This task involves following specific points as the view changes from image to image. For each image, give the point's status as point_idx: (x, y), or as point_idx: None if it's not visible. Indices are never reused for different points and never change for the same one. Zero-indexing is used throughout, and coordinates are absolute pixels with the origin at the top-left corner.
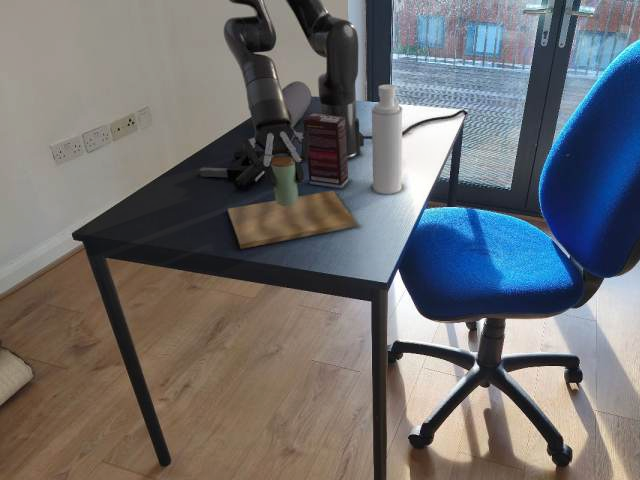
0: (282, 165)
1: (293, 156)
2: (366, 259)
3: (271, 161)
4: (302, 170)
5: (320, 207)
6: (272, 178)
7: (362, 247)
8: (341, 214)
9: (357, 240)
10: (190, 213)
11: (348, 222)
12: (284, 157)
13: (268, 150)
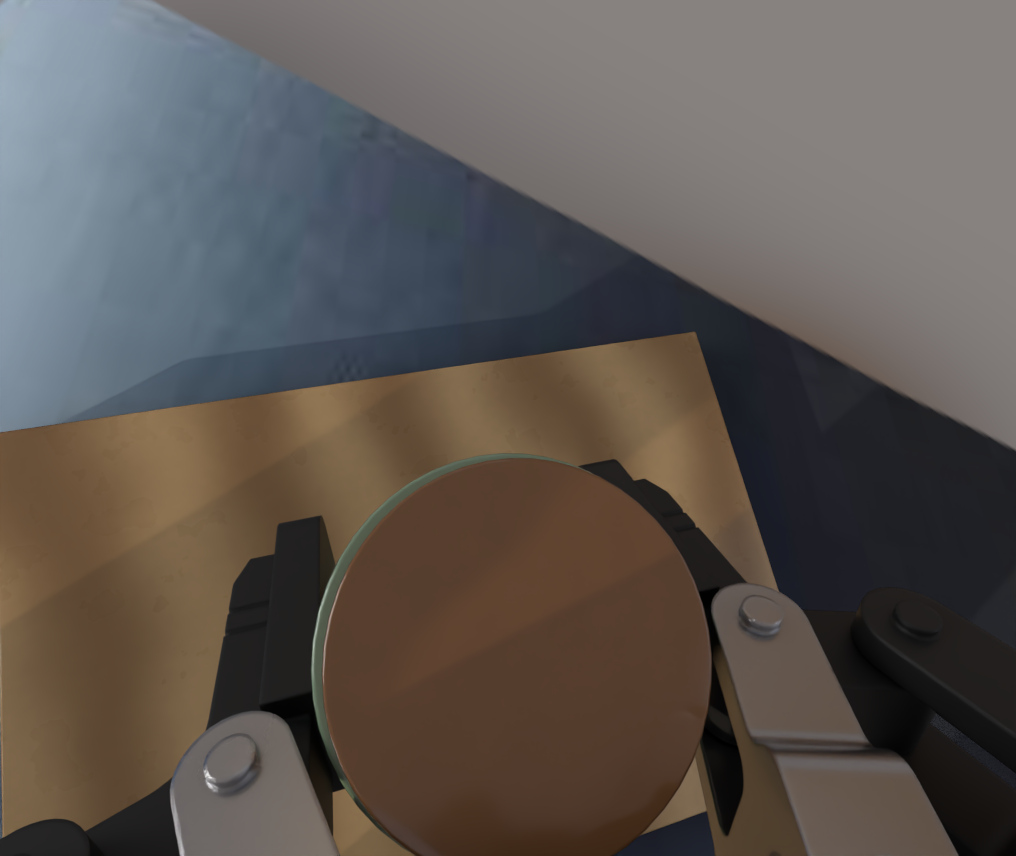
0: (525, 460)
1: (307, 811)
2: (78, 115)
3: (706, 622)
4: (231, 634)
5: (204, 700)
6: (620, 487)
7: (60, 217)
8: (66, 558)
9: (65, 289)
10: (1011, 784)
11: (50, 432)
12: (492, 782)
13: (872, 828)
